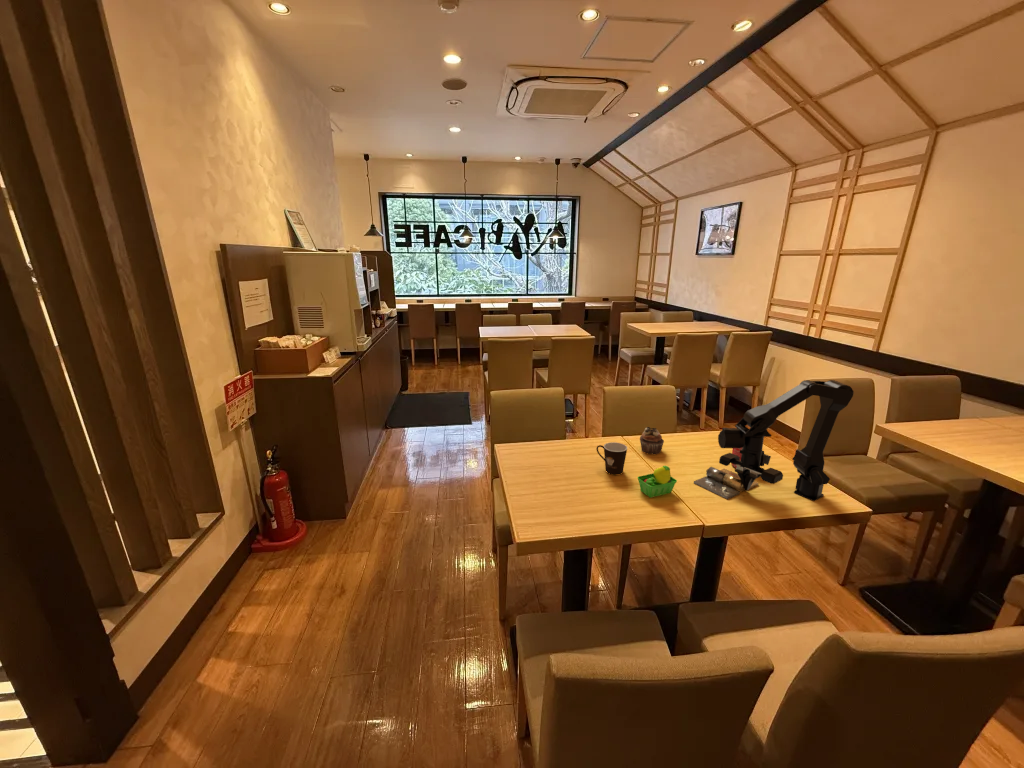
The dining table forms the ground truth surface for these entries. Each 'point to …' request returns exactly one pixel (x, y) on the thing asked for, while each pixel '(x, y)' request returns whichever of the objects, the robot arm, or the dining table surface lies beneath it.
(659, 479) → the fruit basket
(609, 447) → the coffee mug
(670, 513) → the dining table surface
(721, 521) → the dining table surface
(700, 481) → the steel leaf
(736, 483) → the brass leaf
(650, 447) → the cupcake
